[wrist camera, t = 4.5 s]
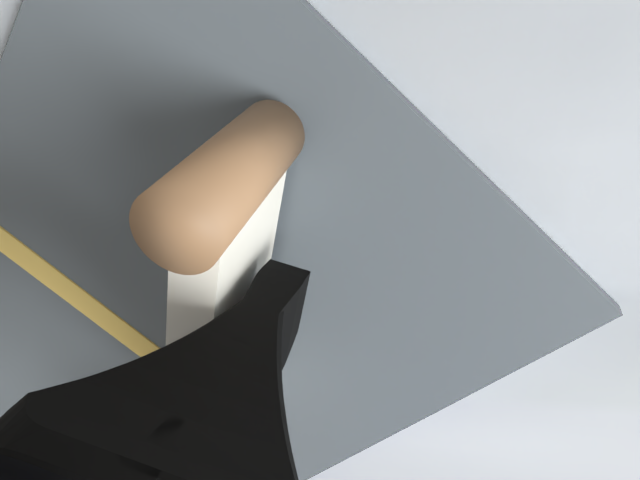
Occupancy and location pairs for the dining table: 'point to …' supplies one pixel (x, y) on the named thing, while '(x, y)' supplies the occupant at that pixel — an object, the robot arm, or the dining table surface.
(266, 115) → the hinged fence panel
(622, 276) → the dining table surface
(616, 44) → the dining table surface
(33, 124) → the card
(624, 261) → the dining table surface
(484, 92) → the dining table surface
